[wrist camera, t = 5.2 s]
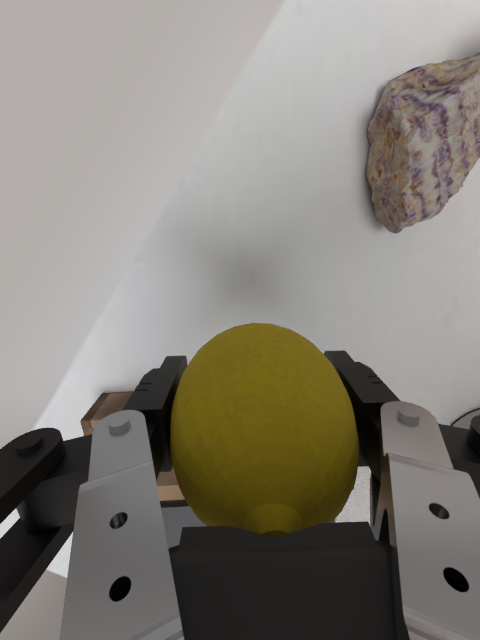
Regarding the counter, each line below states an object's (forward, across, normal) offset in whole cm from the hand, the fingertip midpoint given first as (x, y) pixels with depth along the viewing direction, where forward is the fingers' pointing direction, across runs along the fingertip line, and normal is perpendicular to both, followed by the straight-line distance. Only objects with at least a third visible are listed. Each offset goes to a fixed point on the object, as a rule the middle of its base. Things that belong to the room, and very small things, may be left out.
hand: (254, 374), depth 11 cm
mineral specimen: (+14, -12, -11) cm, 22 cm away
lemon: (+2, 0, 0) cm, 2 cm away
